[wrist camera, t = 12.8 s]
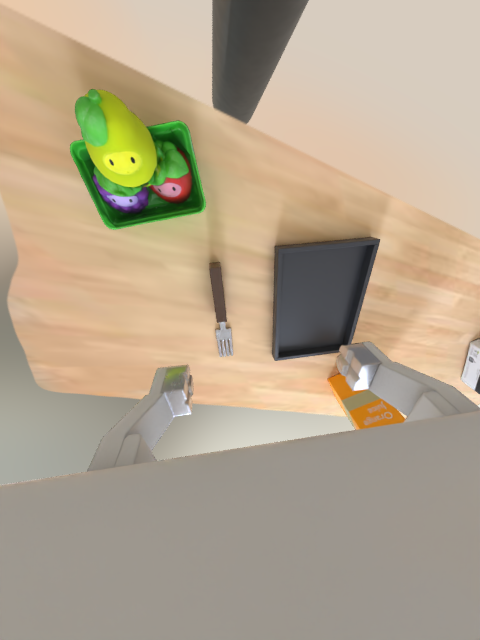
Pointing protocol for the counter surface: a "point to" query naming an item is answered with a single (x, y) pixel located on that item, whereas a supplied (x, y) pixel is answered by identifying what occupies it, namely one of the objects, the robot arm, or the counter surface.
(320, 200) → the counter surface
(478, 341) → the tea box
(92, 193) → the fruit basket
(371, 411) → the orange juice
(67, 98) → the counter surface
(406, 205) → the counter surface
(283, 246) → the tray
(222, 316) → the fork
